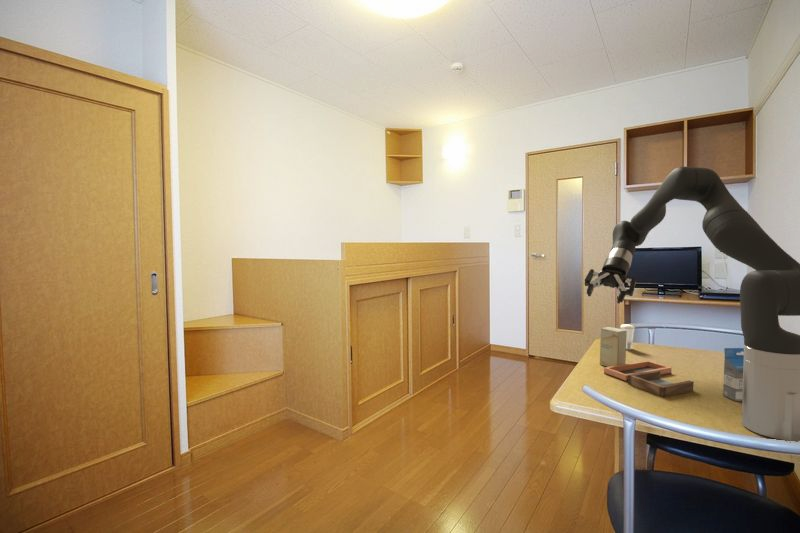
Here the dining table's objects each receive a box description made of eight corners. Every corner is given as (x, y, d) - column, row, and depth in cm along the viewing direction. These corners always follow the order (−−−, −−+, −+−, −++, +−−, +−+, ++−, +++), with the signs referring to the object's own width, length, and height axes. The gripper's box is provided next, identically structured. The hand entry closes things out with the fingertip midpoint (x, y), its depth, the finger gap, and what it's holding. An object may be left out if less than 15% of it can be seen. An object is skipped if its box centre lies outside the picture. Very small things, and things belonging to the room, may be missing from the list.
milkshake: (638, 350, 137) (639, 323, 136) (622, 350, 138) (623, 323, 137) (633, 347, 141) (634, 321, 141) (618, 346, 142) (618, 320, 142)
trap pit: (671, 373, 112) (671, 367, 112) (625, 381, 107) (626, 375, 107) (647, 366, 120) (647, 360, 119) (604, 373, 114) (604, 367, 114)
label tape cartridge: (735, 402, 92) (736, 352, 91) (722, 395, 96) (723, 348, 95) (772, 401, 92) (774, 351, 91) (758, 395, 95) (759, 347, 95)
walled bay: (693, 391, 99) (693, 381, 99) (663, 397, 95) (663, 387, 95) (656, 378, 108) (656, 370, 108) (628, 383, 105) (628, 375, 105)
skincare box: (599, 364, 122) (599, 327, 121) (608, 362, 124) (608, 326, 123) (617, 370, 116) (617, 331, 116) (626, 368, 118) (627, 329, 118)
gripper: (594, 252, 129) (580, 285, 122) (642, 260, 121) (630, 296, 113) (594, 267, 134) (579, 300, 126) (640, 276, 126) (627, 311, 118)
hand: (603, 298), depth 120 cm, fingers open, 8 cm apart
